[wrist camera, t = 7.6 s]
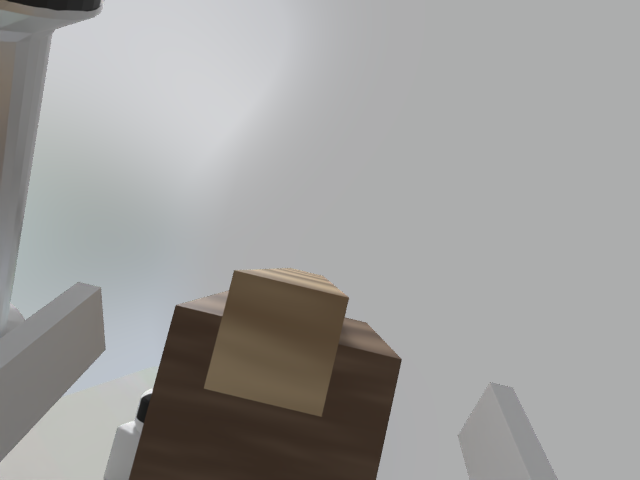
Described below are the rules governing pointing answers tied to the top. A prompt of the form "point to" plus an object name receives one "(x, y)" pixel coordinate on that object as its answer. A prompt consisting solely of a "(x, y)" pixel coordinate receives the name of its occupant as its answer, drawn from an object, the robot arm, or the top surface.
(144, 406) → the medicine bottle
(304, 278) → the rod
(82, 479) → the top surface
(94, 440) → the top surface
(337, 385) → the stand
